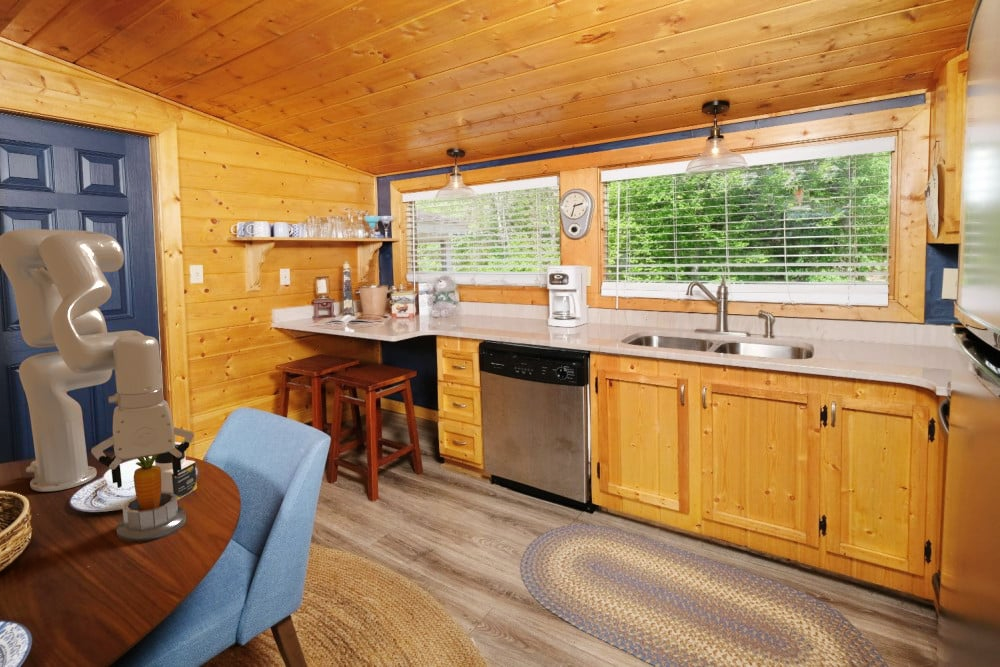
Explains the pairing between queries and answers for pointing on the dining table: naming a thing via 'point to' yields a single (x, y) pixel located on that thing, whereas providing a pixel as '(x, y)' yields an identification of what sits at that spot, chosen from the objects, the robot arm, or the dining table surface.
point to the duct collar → (150, 520)
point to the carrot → (147, 483)
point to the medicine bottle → (185, 477)
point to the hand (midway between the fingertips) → (148, 479)
